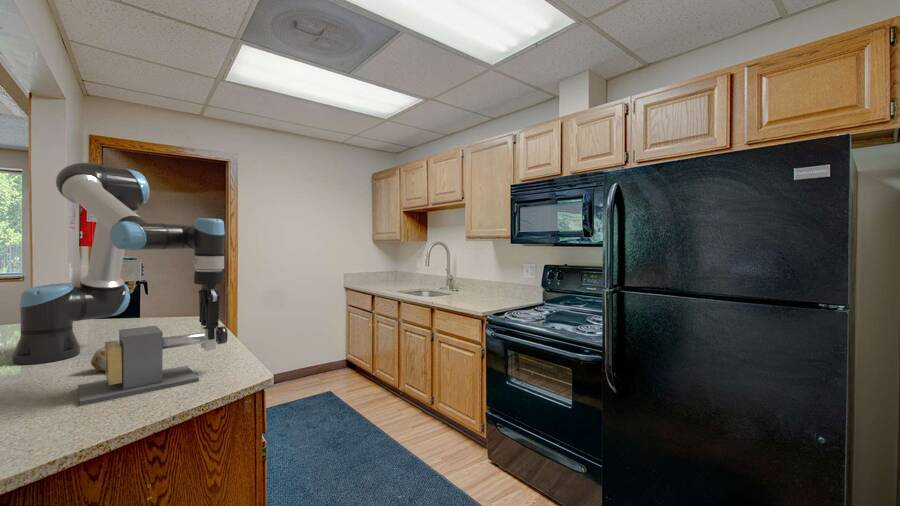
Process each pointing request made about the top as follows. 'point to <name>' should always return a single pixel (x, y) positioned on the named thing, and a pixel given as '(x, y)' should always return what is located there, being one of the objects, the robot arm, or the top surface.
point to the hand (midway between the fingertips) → (208, 348)
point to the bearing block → (141, 356)
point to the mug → (99, 360)
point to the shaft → (194, 338)
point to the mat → (106, 392)
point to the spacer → (113, 362)
